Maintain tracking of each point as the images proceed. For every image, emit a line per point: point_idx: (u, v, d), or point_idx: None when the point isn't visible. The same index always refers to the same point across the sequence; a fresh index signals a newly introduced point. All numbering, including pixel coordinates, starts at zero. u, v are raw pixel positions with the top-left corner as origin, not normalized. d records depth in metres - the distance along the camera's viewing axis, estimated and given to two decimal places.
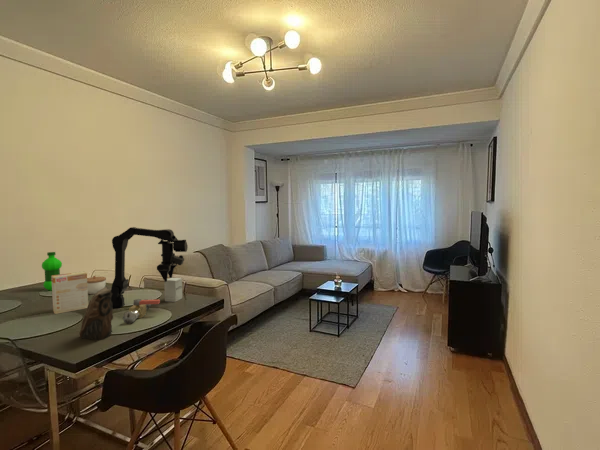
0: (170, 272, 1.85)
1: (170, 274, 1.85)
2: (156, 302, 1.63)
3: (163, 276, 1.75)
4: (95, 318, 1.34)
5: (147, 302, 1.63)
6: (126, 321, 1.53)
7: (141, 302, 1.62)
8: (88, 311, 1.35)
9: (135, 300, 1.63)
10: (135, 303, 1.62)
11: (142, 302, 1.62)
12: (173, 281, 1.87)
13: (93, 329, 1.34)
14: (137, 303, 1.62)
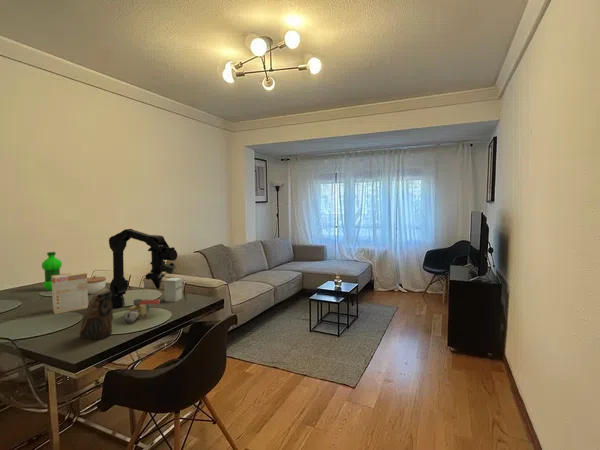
0: None
1: None
2: (156, 302, 1.63)
3: (155, 283, 1.69)
4: (95, 318, 1.34)
5: (147, 302, 1.63)
6: (126, 321, 1.53)
7: (141, 302, 1.62)
8: (88, 311, 1.35)
9: (135, 300, 1.63)
10: (135, 303, 1.62)
11: (142, 302, 1.62)
12: (173, 281, 1.87)
13: (93, 329, 1.34)
14: (137, 303, 1.62)
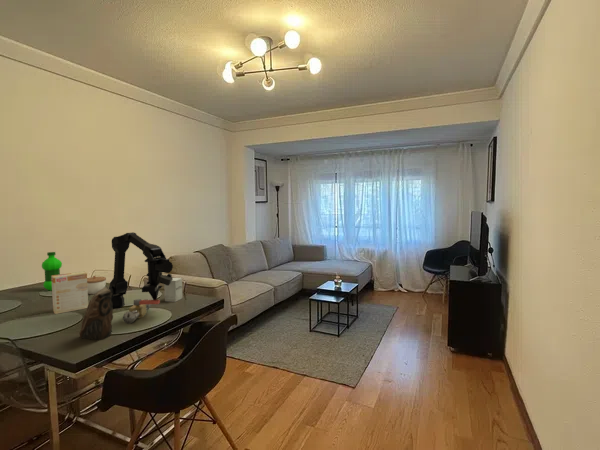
0: None
1: None
2: (156, 302, 1.63)
3: (152, 295, 1.64)
4: (95, 318, 1.34)
5: (147, 302, 1.62)
6: (126, 321, 1.53)
7: (141, 302, 1.62)
8: (88, 311, 1.35)
9: (135, 300, 1.63)
10: (135, 303, 1.62)
11: (142, 302, 1.62)
12: (173, 281, 1.87)
13: (93, 329, 1.34)
14: (137, 303, 1.62)
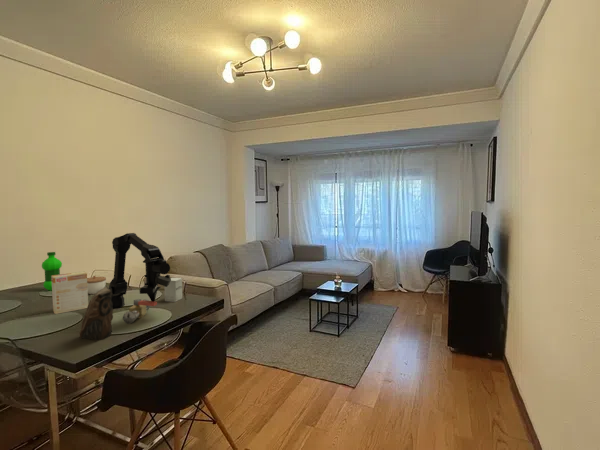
0: None
1: None
2: (152, 304, 1.60)
3: (150, 296, 1.62)
4: (95, 318, 1.34)
5: (144, 303, 1.61)
6: (126, 321, 1.53)
7: (139, 302, 1.61)
8: (88, 311, 1.35)
9: (135, 300, 1.63)
10: (134, 303, 1.62)
11: (140, 303, 1.61)
12: (173, 281, 1.87)
13: (93, 329, 1.34)
14: (136, 303, 1.62)
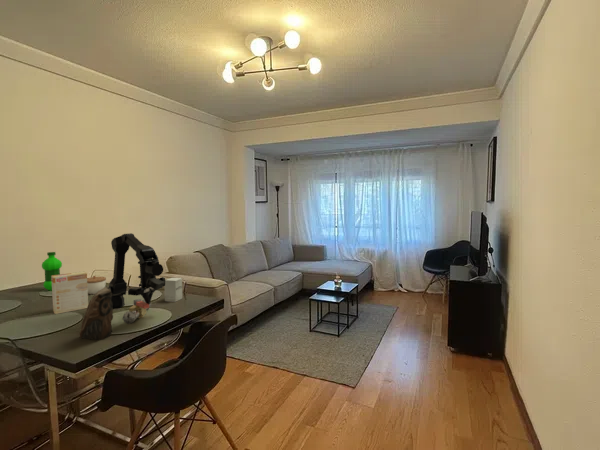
0: None
1: None
2: (143, 306, 1.56)
3: (145, 298, 1.58)
4: (95, 318, 1.34)
5: (139, 304, 1.59)
6: (126, 321, 1.53)
7: (137, 303, 1.61)
8: (88, 311, 1.35)
9: (135, 300, 1.63)
10: None
11: (137, 303, 1.60)
12: (173, 281, 1.87)
13: (93, 329, 1.34)
14: (134, 303, 1.62)
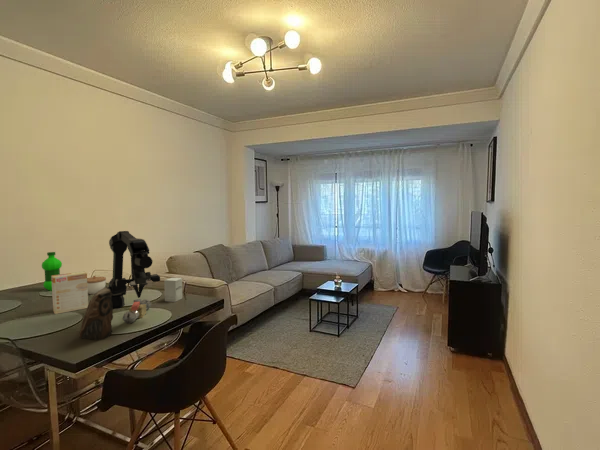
0: (139, 291, 1.56)
1: None
2: None
3: (135, 291, 1.56)
4: (95, 318, 1.34)
5: (133, 305, 1.58)
6: (126, 321, 1.53)
7: None
8: (88, 311, 1.35)
9: (136, 299, 1.64)
10: None
11: None
12: (173, 281, 1.87)
13: (93, 329, 1.34)
14: None
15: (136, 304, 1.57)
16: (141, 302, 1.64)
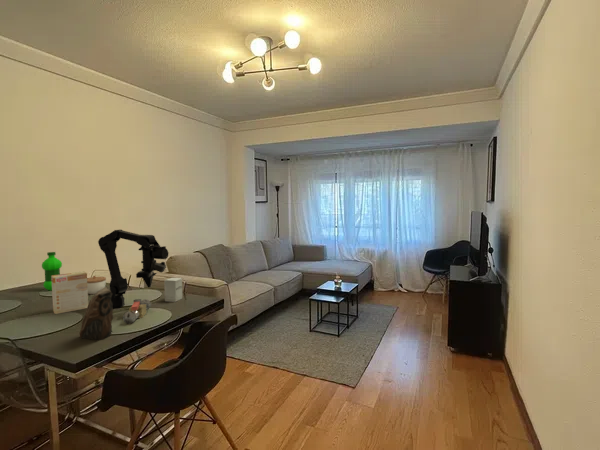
0: None
1: None
2: None
3: (146, 282, 1.72)
4: (95, 318, 1.34)
5: (133, 305, 1.58)
6: (126, 321, 1.53)
7: None
8: (88, 311, 1.35)
9: (136, 299, 1.64)
10: None
11: None
12: (173, 281, 1.87)
13: (93, 329, 1.34)
14: None
15: (136, 304, 1.57)
16: (141, 302, 1.64)
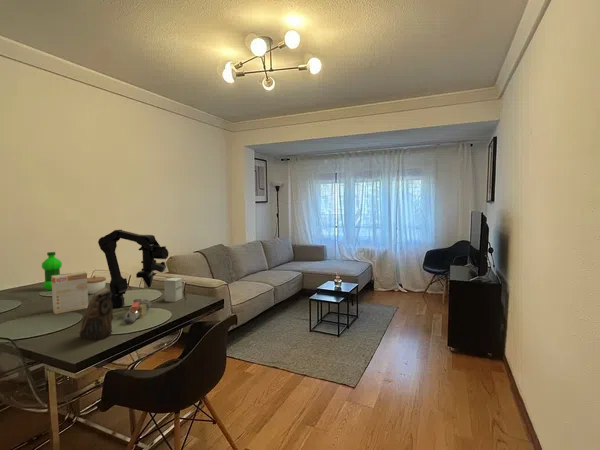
0: None
1: None
2: None
3: (146, 282, 1.73)
4: (95, 318, 1.34)
5: (133, 305, 1.58)
6: (126, 321, 1.53)
7: None
8: (88, 311, 1.35)
9: (136, 299, 1.64)
10: None
11: None
12: (173, 281, 1.87)
13: (93, 329, 1.34)
14: None
15: (136, 304, 1.57)
16: (141, 302, 1.64)
